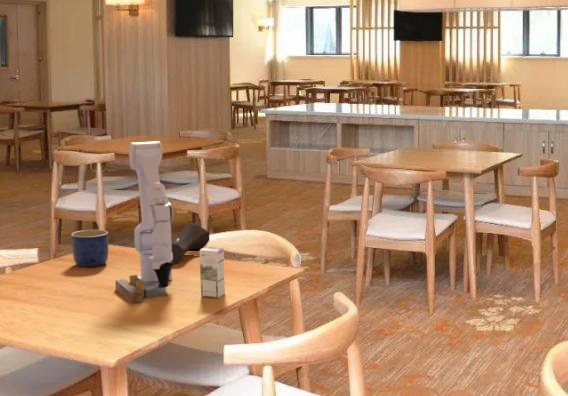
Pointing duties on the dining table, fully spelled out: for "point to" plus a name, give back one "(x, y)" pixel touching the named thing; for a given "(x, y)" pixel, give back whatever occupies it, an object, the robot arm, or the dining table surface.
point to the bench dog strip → (131, 289)
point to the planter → (90, 247)
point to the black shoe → (189, 241)
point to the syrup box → (212, 272)
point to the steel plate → (153, 289)
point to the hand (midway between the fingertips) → (163, 287)
